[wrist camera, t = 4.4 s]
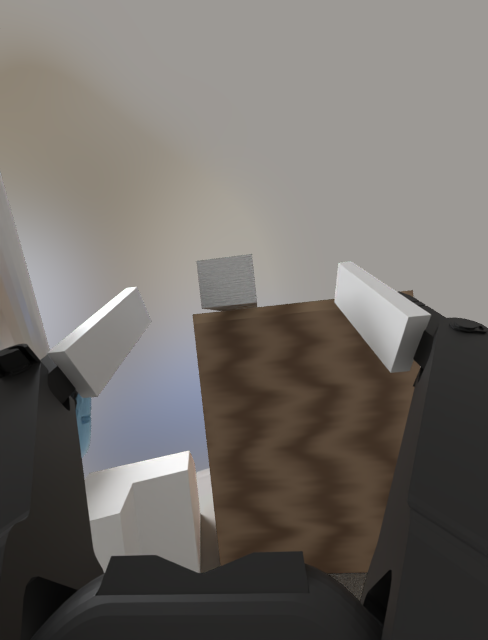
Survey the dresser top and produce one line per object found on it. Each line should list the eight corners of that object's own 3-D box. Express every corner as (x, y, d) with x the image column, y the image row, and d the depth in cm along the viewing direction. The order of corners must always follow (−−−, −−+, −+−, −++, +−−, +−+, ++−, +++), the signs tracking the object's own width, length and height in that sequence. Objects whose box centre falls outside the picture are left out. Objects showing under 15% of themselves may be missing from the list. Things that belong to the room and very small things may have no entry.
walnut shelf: (221, 576, 22) (192, 314, 22) (234, 485, 34) (215, 314, 34) (439, 570, 21) (412, 290, 21) (373, 477, 33) (355, 299, 33)
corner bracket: (64, 679, 17) (46, 532, 17) (118, 537, 28) (107, 448, 28) (200, 626, 19) (185, 495, 19) (200, 513, 30) (191, 430, 30)
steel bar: (201, 308, 13) (196, 261, 13) (236, 312, 35) (234, 294, 35) (257, 302, 13) (251, 254, 13) (257, 310, 35) (255, 292, 35)
